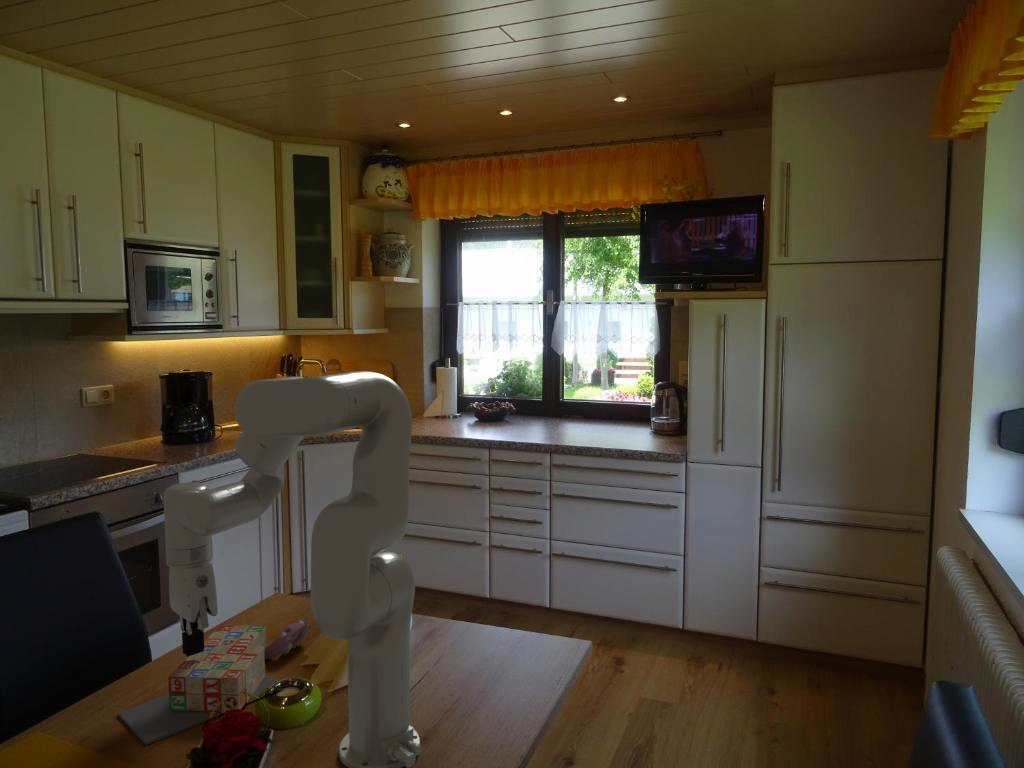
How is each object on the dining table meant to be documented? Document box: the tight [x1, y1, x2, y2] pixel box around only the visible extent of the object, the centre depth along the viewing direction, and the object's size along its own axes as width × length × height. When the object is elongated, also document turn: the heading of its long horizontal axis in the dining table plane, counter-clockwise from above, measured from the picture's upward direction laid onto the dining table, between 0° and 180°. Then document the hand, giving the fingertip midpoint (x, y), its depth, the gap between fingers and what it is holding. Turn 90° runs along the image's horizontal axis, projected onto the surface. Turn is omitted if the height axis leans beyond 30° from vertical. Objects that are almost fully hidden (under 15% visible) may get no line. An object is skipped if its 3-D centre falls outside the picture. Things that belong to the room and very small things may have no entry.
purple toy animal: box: [264, 619, 311, 660], centre depth 148 cm, size 10×5×7 cm, turn 163°
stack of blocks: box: [167, 624, 267, 712], centre depth 135 cm, size 21×6×12 cm
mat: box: [117, 673, 278, 746], centre depth 129 cm, size 12×24×1 cm, turn 137°
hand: (193, 652), depth 130 cm, fingers closed
